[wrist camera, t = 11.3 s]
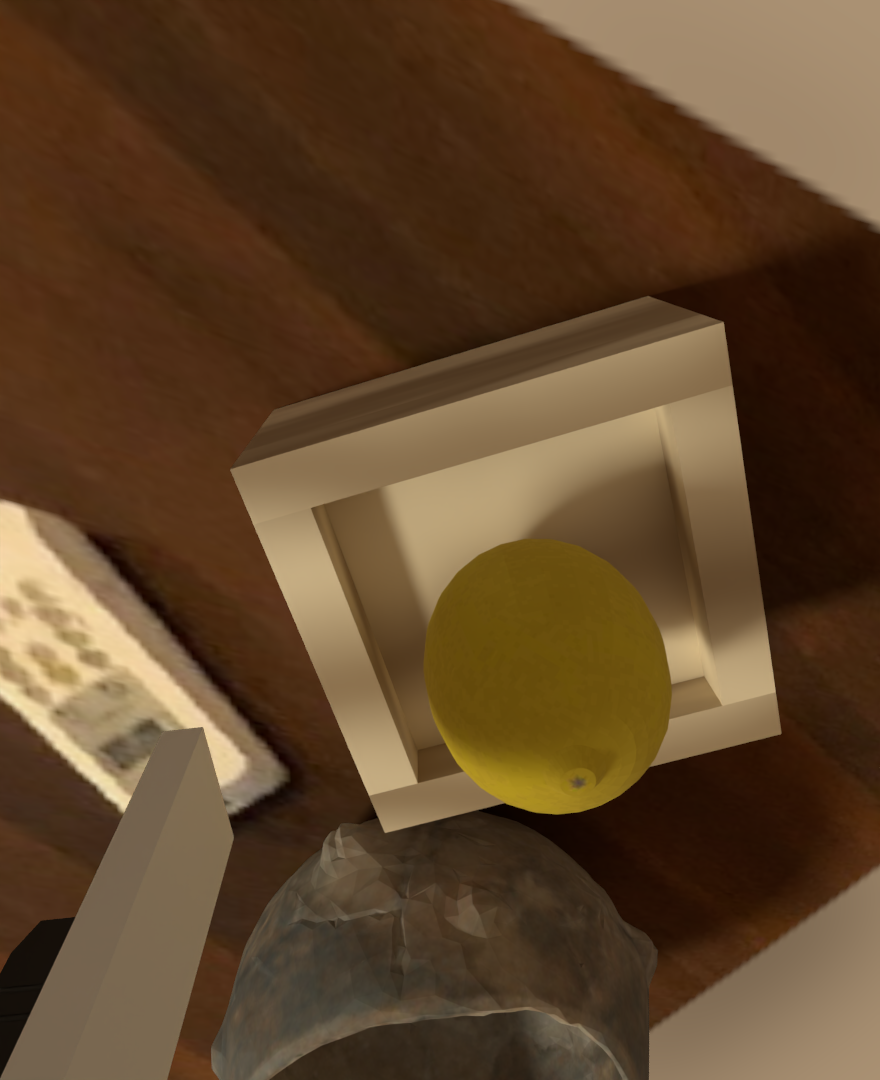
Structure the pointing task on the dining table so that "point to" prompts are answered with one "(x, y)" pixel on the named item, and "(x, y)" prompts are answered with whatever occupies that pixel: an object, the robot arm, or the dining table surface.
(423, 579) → the birch box
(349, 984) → the bowl
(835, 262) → the dining table surface
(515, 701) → the lemon
